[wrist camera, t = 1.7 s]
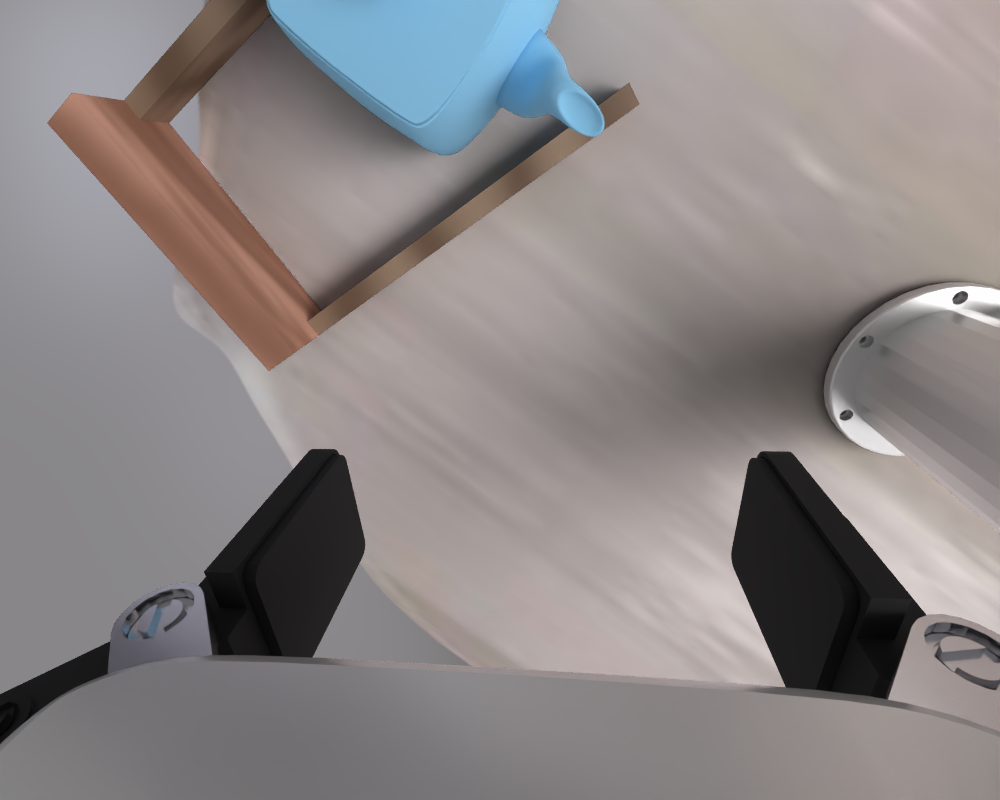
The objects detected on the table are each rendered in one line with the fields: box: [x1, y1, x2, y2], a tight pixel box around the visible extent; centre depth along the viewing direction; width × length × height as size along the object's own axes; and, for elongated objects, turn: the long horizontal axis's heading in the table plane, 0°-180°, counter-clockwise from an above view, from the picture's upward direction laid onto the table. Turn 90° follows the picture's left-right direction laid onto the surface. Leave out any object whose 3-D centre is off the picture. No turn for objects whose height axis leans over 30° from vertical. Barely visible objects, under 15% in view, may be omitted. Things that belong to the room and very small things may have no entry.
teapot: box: [266, 0, 605, 155], centre depth 23 cm, size 12×18×12 cm
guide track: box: [48, 0, 639, 371], centre depth 28 cm, size 28×17×6 cm, turn 124°
